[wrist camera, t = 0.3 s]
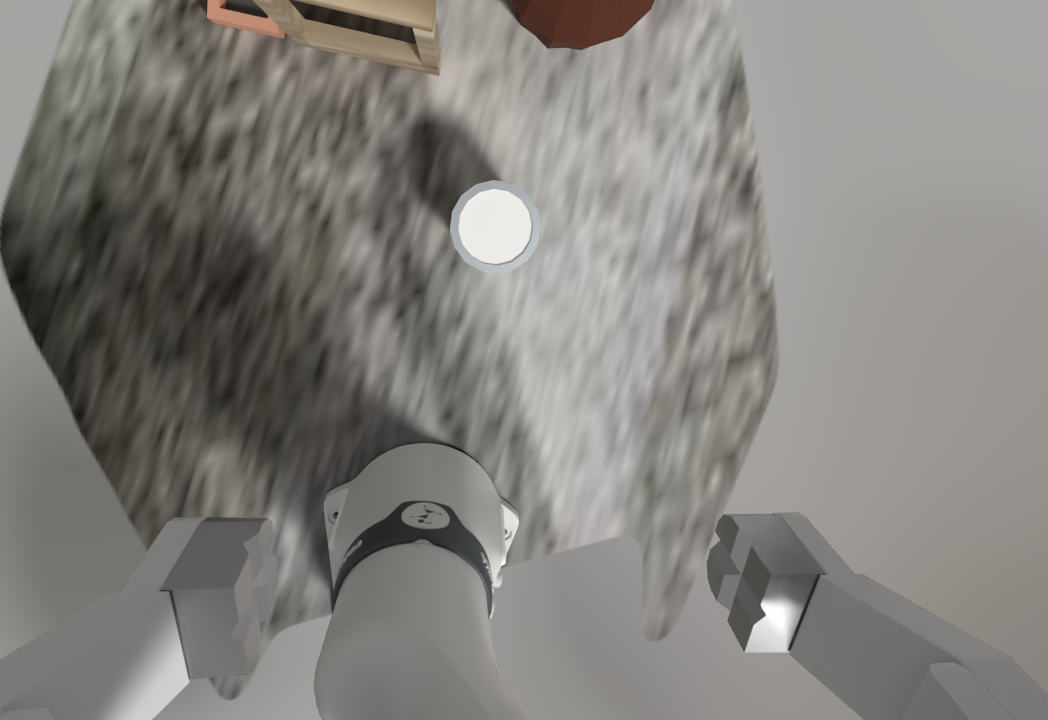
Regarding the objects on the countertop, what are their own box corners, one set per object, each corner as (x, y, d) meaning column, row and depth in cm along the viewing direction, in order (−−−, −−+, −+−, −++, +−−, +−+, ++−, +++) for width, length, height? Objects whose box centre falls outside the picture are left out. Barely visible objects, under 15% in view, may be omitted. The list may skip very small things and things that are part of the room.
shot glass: (447, 184, 48) (446, 181, 41) (528, 181, 49) (539, 177, 42) (454, 266, 50) (453, 276, 43) (531, 262, 50) (542, 271, 44)
